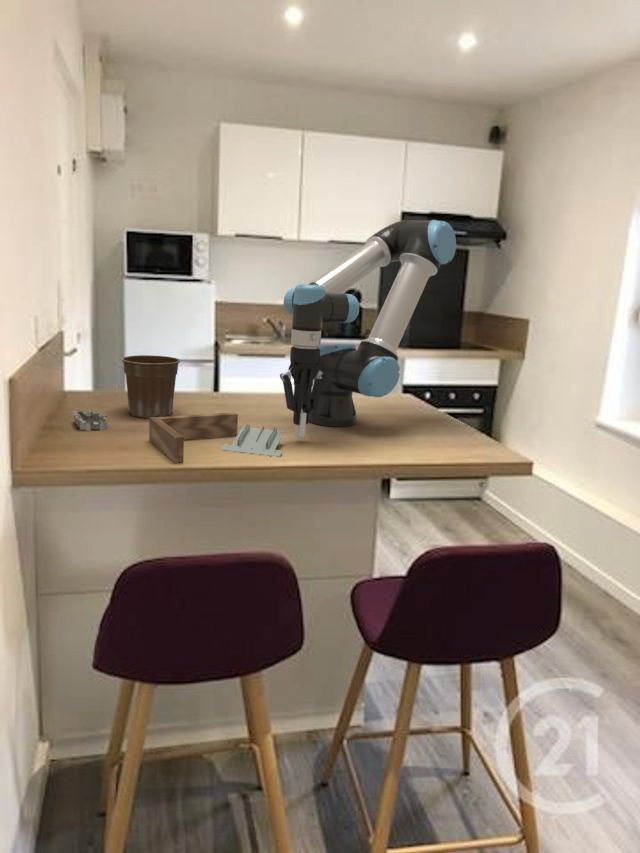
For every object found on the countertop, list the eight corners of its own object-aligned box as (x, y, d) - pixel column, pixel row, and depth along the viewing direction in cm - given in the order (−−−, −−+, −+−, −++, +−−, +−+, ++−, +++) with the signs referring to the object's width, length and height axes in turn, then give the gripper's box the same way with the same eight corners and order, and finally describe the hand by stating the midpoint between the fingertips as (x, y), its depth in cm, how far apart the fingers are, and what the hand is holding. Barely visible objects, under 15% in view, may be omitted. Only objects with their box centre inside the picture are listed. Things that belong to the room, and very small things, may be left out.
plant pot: (131, 405, 208) (131, 352, 204) (184, 409, 208) (185, 356, 204) (114, 418, 192) (113, 361, 188) (171, 422, 192) (172, 365, 188)
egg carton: (108, 431, 180) (108, 415, 179) (78, 432, 176) (78, 417, 175) (101, 421, 189) (101, 406, 188) (72, 422, 186) (72, 407, 185)
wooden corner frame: (234, 434, 184) (234, 412, 182) (266, 454, 168) (267, 430, 166) (149, 440, 172) (149, 417, 171) (174, 463, 156) (175, 437, 154)
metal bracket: (235, 418, 178) (292, 424, 176) (237, 437, 181) (292, 443, 179) (217, 446, 166) (278, 453, 164) (219, 466, 169) (278, 473, 167)
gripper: (290, 348, 168) (284, 441, 174) (335, 348, 175) (328, 438, 180) (276, 344, 174) (271, 434, 180) (320, 344, 181) (314, 431, 187)
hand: (299, 436), depth 180 cm, fingers closed
